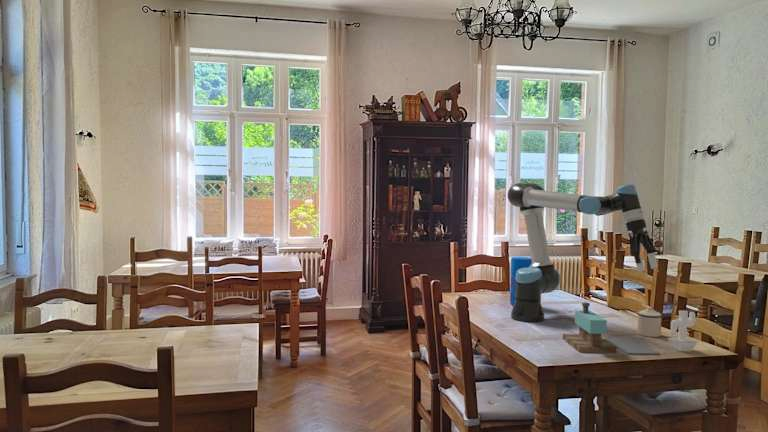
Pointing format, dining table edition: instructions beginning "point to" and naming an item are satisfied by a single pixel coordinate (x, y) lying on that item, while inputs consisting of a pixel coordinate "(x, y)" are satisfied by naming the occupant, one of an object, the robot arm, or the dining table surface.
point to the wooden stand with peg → (588, 339)
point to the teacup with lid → (649, 323)
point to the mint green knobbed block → (591, 322)
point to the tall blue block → (515, 265)
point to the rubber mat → (632, 346)
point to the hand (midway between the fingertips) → (648, 269)
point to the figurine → (682, 332)
